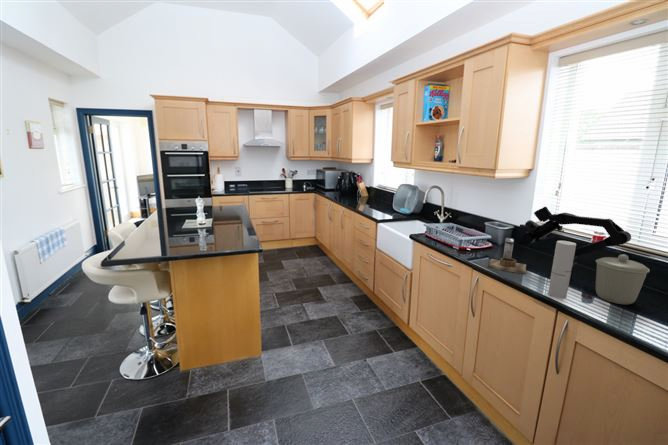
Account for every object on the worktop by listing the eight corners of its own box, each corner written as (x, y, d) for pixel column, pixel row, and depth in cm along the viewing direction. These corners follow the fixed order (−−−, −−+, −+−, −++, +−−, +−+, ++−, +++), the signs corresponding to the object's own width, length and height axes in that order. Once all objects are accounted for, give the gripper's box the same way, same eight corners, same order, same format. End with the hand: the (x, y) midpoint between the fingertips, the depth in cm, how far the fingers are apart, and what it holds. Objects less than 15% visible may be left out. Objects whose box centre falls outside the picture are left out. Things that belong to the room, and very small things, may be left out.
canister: (589, 288, 160) (598, 246, 155) (639, 299, 149) (650, 254, 144) (588, 300, 146) (597, 255, 142) (643, 313, 135) (654, 264, 130)
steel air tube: (511, 261, 198) (514, 238, 195) (510, 263, 194) (514, 240, 191) (502, 259, 200) (505, 237, 198) (502, 261, 197) (505, 239, 194)
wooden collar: (515, 264, 188) (516, 259, 187) (515, 268, 181) (516, 263, 180) (500, 261, 192) (501, 256, 191) (499, 265, 185) (500, 260, 184)
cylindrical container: (570, 298, 147) (580, 245, 142) (554, 298, 147) (563, 244, 142) (559, 292, 154) (569, 240, 149) (544, 291, 154) (553, 240, 149)
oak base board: (525, 266, 188) (526, 264, 188) (525, 274, 176) (525, 271, 176) (491, 261, 197) (491, 258, 197) (488, 267, 185) (489, 265, 185)
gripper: (543, 215, 187) (520, 229, 198) (528, 218, 176) (505, 233, 187) (557, 231, 182) (532, 245, 193) (542, 235, 171) (517, 250, 182)
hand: (522, 243), depth 189 cm, fingers open, 9 cm apart
